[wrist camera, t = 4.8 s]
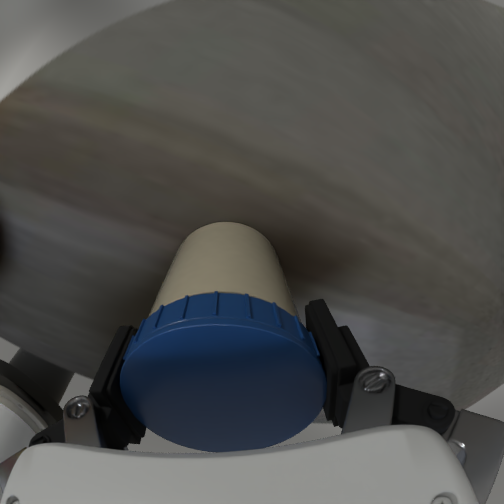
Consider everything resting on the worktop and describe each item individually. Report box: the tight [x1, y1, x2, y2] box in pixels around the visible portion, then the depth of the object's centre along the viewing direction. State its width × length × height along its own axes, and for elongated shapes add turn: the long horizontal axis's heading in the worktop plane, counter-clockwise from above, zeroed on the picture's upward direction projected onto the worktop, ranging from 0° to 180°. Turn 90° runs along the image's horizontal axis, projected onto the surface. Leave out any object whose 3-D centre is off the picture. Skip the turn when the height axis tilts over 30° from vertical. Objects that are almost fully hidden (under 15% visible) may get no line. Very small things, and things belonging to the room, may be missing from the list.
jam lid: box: [120, 291, 327, 452], centre depth 9 cm, size 7×7×2 cm
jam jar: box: [148, 222, 302, 323], centre depth 13 cm, size 7×7×10 cm
